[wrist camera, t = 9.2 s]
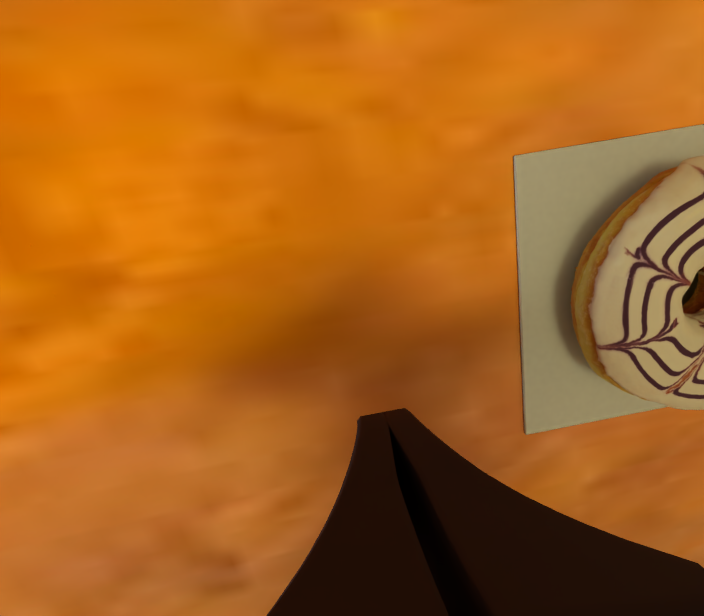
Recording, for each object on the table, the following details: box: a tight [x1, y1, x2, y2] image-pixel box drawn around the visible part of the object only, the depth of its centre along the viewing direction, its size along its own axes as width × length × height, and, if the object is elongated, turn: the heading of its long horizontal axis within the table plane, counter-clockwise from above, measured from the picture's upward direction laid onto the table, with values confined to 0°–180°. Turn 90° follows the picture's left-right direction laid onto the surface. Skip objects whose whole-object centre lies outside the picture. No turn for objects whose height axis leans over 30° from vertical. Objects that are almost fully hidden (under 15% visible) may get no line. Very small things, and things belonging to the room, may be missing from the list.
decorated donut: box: [570, 156, 704, 410], centre depth 17 cm, size 10×11×4 cm
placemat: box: [514, 124, 704, 435], centre depth 19 cm, size 14×14×1 cm
